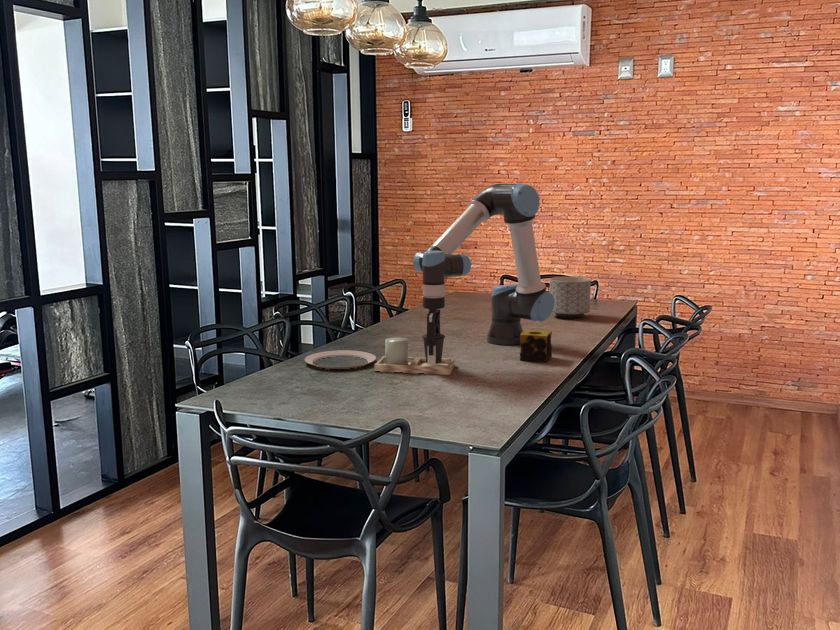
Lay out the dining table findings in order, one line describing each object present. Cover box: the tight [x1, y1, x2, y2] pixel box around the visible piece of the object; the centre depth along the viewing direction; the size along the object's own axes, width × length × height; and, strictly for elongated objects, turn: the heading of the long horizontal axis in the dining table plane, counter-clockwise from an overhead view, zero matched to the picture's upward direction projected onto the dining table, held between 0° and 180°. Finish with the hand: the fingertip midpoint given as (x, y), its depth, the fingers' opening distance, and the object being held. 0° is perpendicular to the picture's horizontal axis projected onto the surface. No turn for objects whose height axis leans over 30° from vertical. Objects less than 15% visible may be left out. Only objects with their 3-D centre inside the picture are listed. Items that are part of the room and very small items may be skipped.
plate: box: [304, 349, 377, 370], centre depth 280 cm, size 26×26×2 cm
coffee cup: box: [421, 332, 446, 363], centre depth 268 cm, size 8×8×10 cm
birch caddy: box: [373, 355, 456, 376], centre depth 271 cm, size 26×13×2 cm, turn 80°
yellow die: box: [519, 329, 553, 363], centre depth 284 cm, size 10×10×10 cm
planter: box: [549, 276, 592, 319], centre depth 369 cm, size 19×19×18 cm
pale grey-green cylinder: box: [384, 337, 409, 365], centre depth 271 cm, size 8×8×9 cm
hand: (433, 361), depth 269 cm, fingers closed on coffee cup, 8 cm apart
